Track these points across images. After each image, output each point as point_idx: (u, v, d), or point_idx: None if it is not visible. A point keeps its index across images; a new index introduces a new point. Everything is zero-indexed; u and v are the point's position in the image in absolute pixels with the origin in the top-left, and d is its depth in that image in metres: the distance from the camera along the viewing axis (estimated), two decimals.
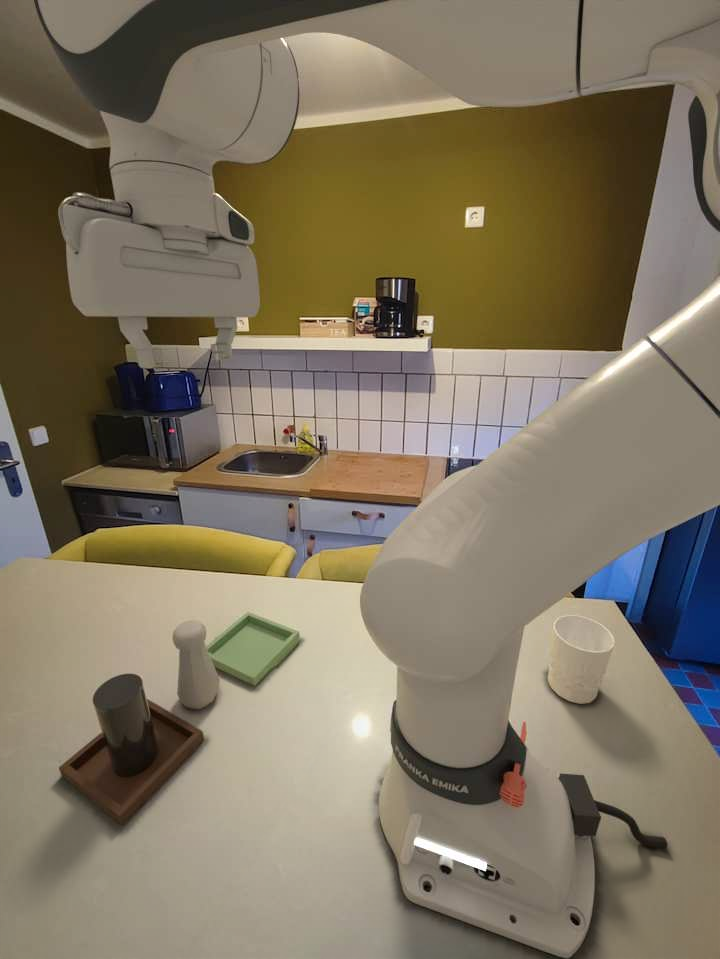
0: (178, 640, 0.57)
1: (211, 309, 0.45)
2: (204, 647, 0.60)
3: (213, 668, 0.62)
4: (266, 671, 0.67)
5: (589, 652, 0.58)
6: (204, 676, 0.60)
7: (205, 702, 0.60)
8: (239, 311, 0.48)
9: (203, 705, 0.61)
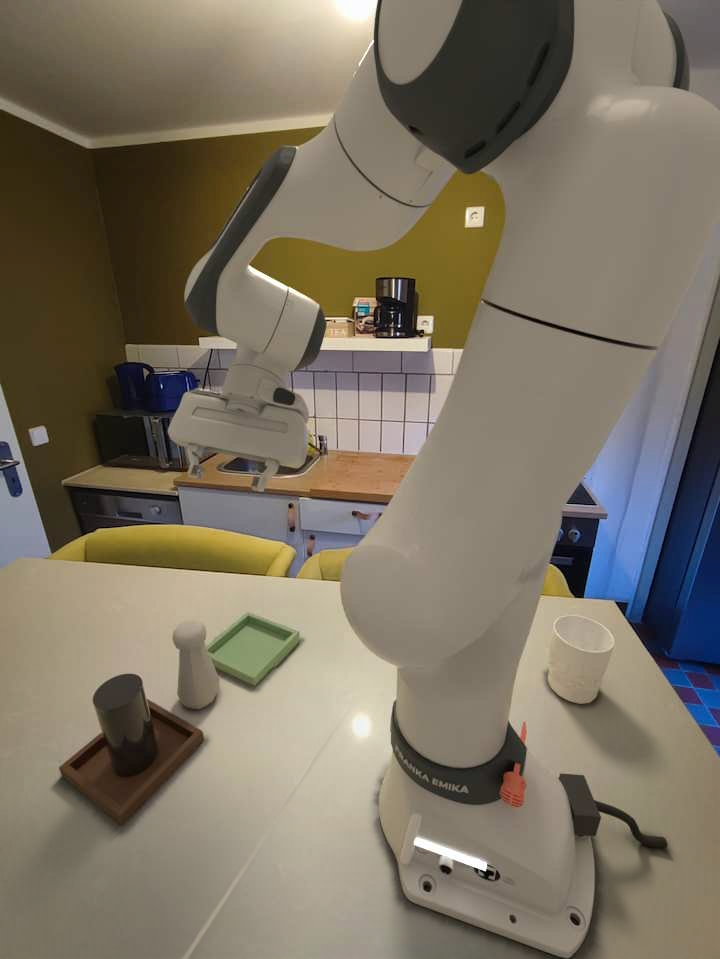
0: (178, 640, 0.57)
1: (246, 447, 0.60)
2: (204, 647, 0.60)
3: (213, 668, 0.62)
4: (266, 671, 0.67)
5: (589, 652, 0.58)
6: (204, 676, 0.60)
7: (205, 702, 0.60)
8: (274, 454, 0.60)
9: (203, 705, 0.61)
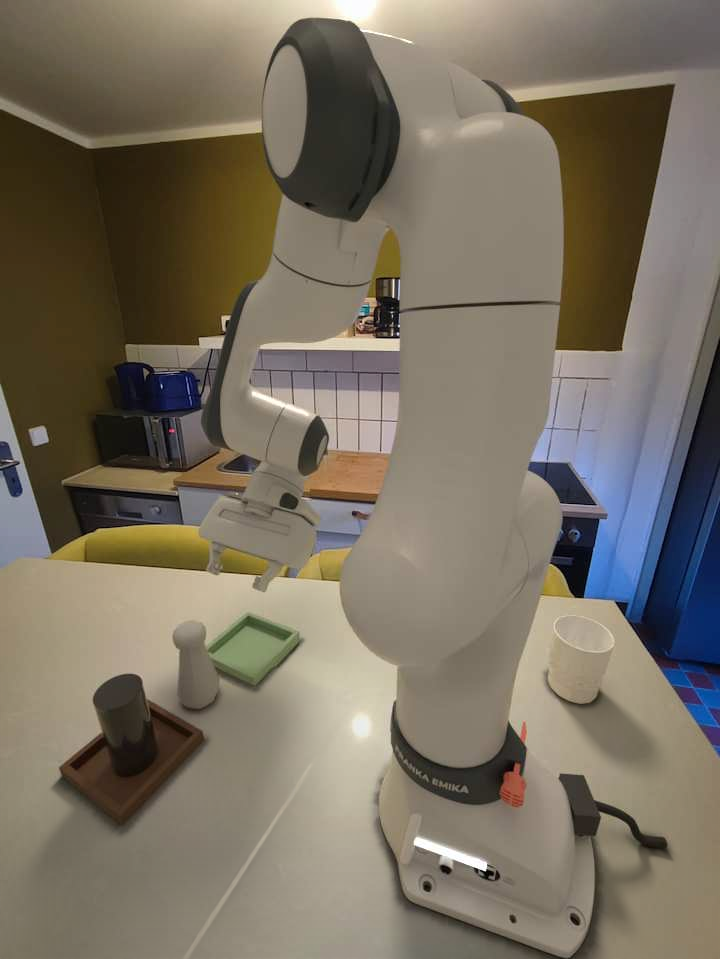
0: (178, 640, 0.57)
1: (253, 548, 0.65)
2: (204, 647, 0.60)
3: (213, 668, 0.62)
4: (266, 671, 0.67)
5: (589, 652, 0.58)
6: (204, 676, 0.60)
7: (205, 702, 0.60)
8: (275, 556, 0.63)
9: (203, 705, 0.61)
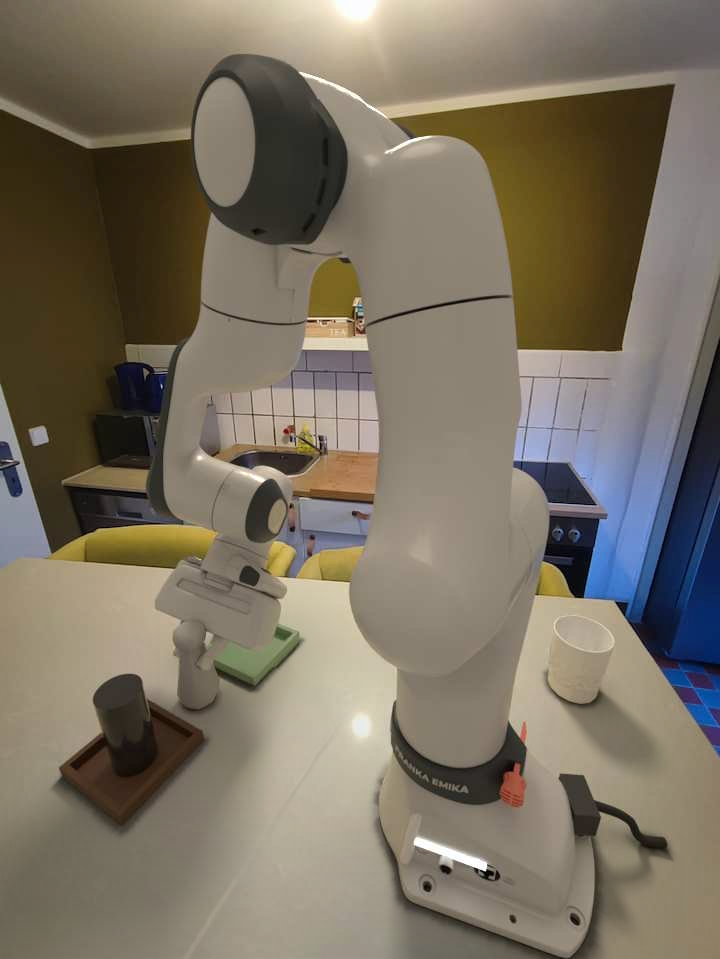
0: (177, 640, 0.57)
1: (210, 627, 0.59)
2: (204, 647, 0.60)
3: (213, 668, 0.62)
4: (266, 671, 0.67)
5: (589, 652, 0.58)
6: (204, 676, 0.60)
7: (205, 702, 0.60)
8: (233, 638, 0.57)
9: (203, 705, 0.61)
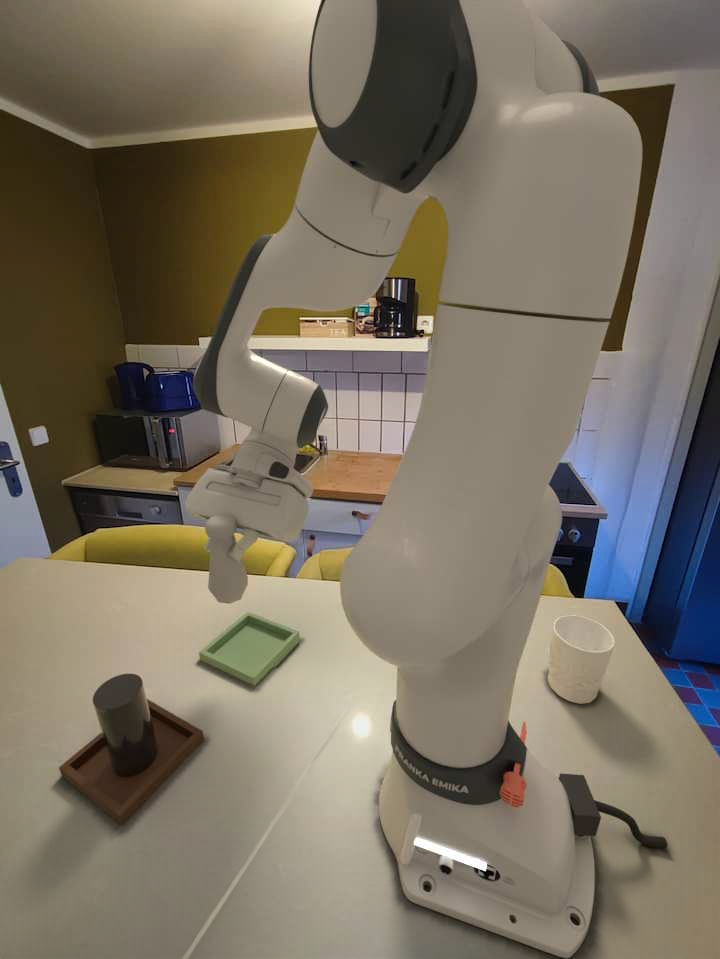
0: (211, 528, 0.59)
1: (241, 520, 0.61)
2: (234, 540, 0.62)
3: (242, 563, 0.64)
4: (266, 671, 0.67)
5: (589, 652, 0.58)
6: (235, 568, 0.62)
7: (236, 594, 0.62)
8: (264, 527, 0.59)
9: (233, 597, 0.63)
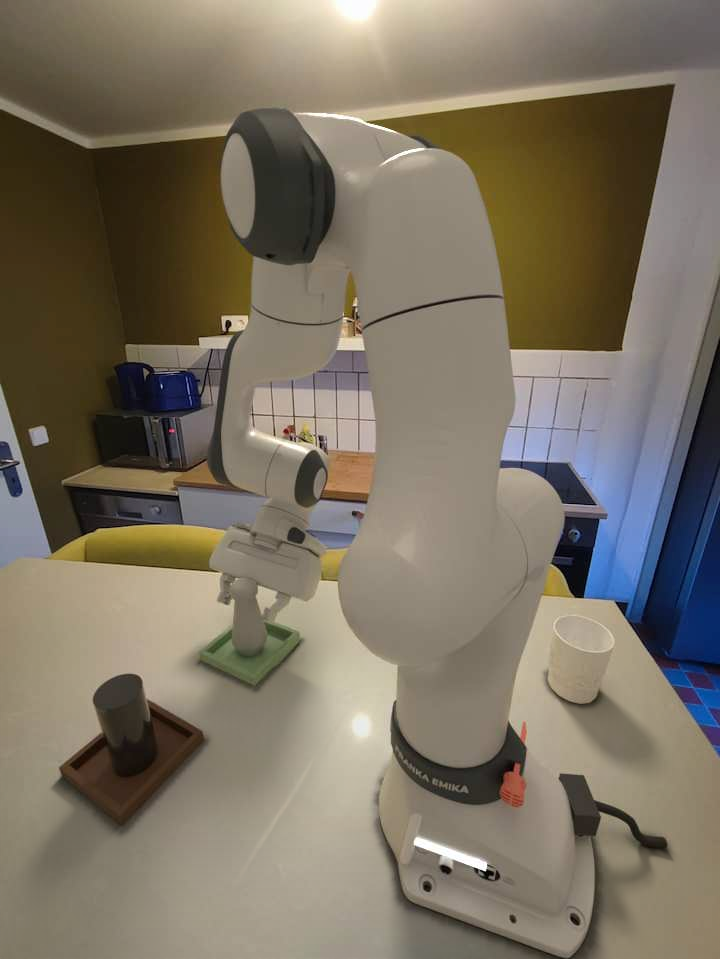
0: (235, 593, 0.66)
1: (262, 580, 0.68)
2: (256, 600, 0.69)
3: (262, 620, 0.71)
4: (266, 671, 0.67)
5: (589, 652, 0.58)
6: (256, 626, 0.69)
7: (257, 648, 0.69)
8: (283, 588, 0.66)
9: (254, 651, 0.70)
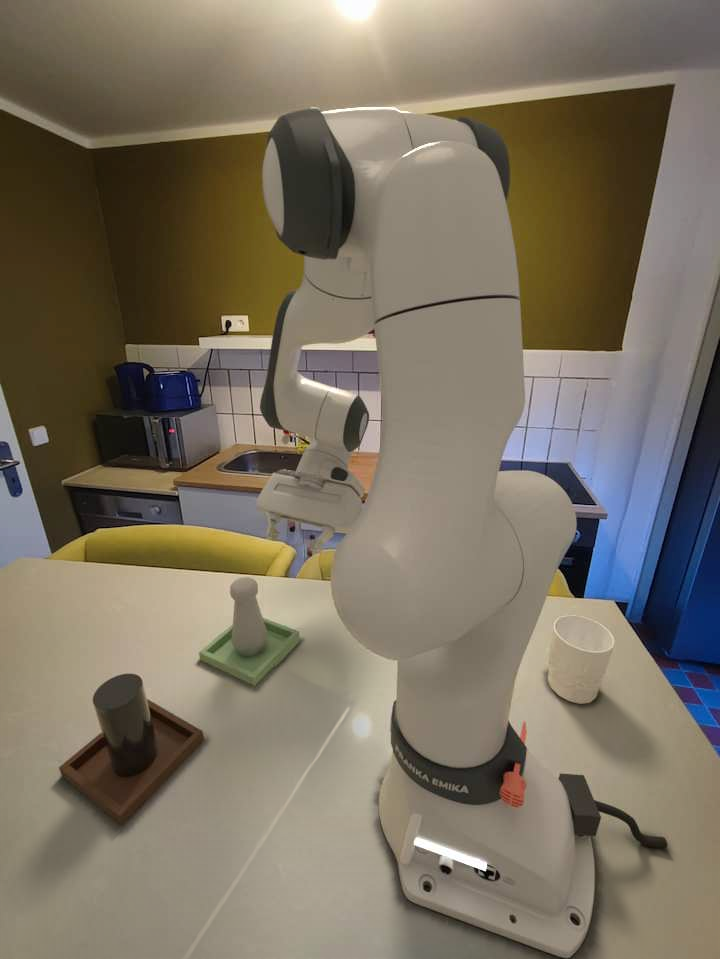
0: (235, 593, 0.66)
1: (308, 515, 0.74)
2: (256, 600, 0.69)
3: (262, 620, 0.71)
4: (266, 671, 0.67)
5: (589, 652, 0.58)
6: (256, 626, 0.69)
7: (257, 648, 0.69)
8: (328, 521, 0.72)
9: (254, 651, 0.70)
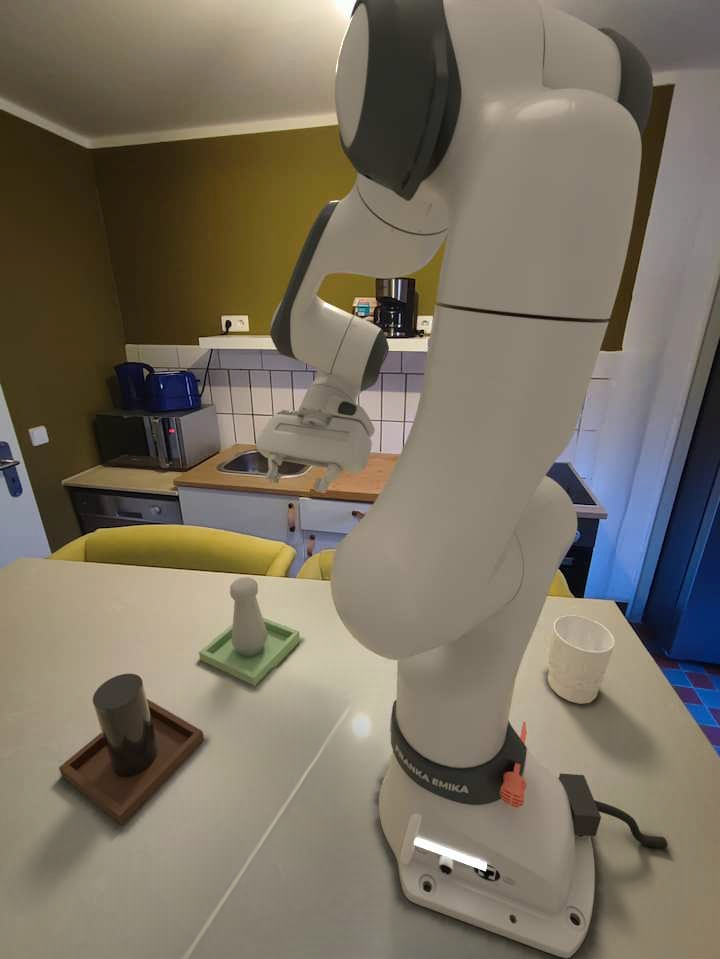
0: (235, 593, 0.66)
1: (313, 453, 0.68)
2: (256, 600, 0.69)
3: (262, 620, 0.71)
4: (266, 671, 0.67)
5: (589, 652, 0.58)
6: (256, 626, 0.69)
7: (257, 648, 0.69)
8: (335, 458, 0.66)
9: (254, 651, 0.70)
